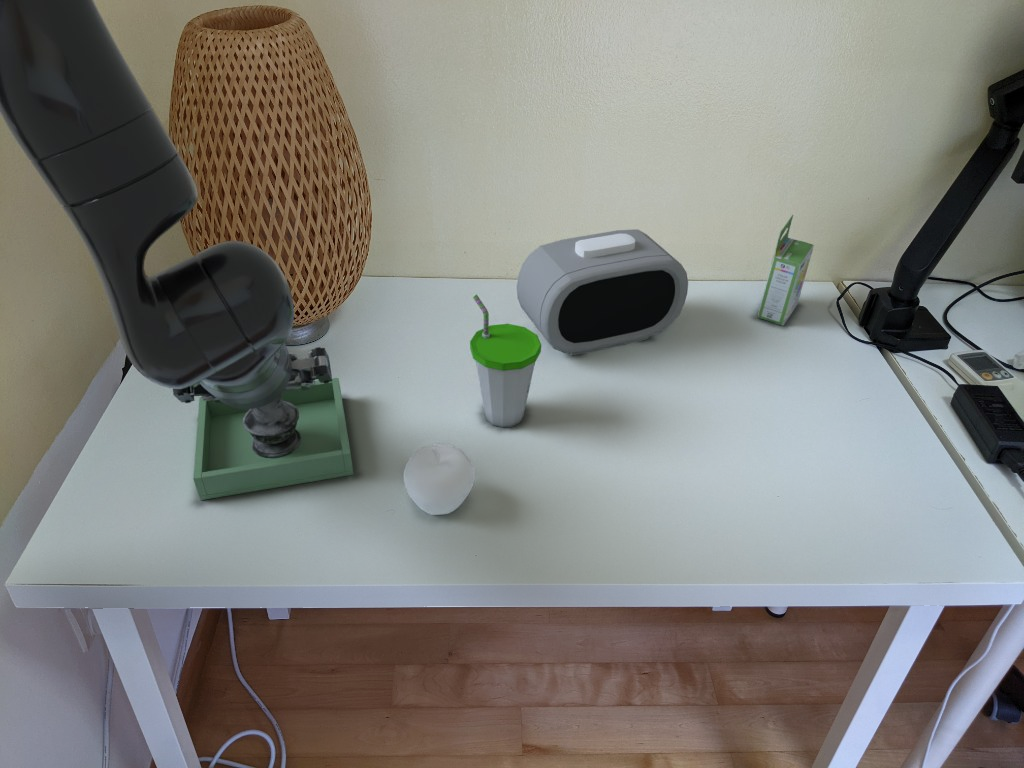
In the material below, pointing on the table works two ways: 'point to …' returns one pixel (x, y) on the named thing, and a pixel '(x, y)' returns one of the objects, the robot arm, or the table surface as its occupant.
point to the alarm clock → (601, 290)
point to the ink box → (785, 278)
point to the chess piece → (273, 428)
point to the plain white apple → (439, 478)
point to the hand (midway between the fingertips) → (262, 386)
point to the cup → (504, 368)
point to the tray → (239, 469)
